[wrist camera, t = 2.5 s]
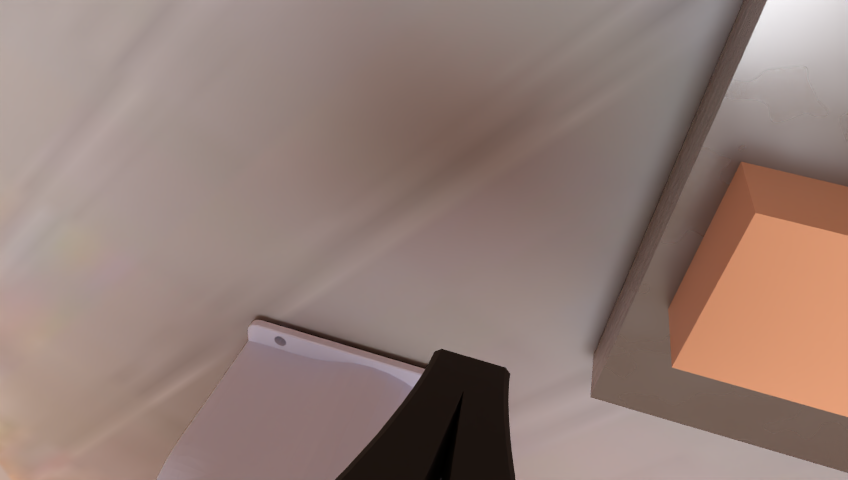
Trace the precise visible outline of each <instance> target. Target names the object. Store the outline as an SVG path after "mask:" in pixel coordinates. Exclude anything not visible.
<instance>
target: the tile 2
mask: <svg viewBox="0 0 848 480" xmlns="http://www.w3.org/2000/svg"><path fill="white" fill-rule="evenodd" d="M668 314H669V330H670V346H671V363H672V368H676V369H679V370H683V371H686V372H690V373H693V374H697V375H700V376H704V377H707V378H711V379H715V380H718V381H722V382H725V383H729V384H732V385H736V386H739V387H743V388H746V389H750V390H754V391H757V392H761V393H764V394H768V395H771V396H775V397H778V398H782V399H785V400H789V401H792V402H796V403H800V404H803V405H807V406H810V407H814V408H817V409H821V410H824V411H828V412H831V413H835V414H838V415H842V416H846V417H848V187H847V186H843V185H838V184H834V183H830V182H826V181H821V180H817V179H813V178H809V177H804V176H800V175H796V174H792V173H788V172H783V171H779V170H775V169H771V168H766V167H762V166H758V165H754V164H749V163H745V162H741V163H740V165H739V167H738V169H737V171H736V173H735V175H734V177H733V179H732V181H731V183H730V185H729V187H728V189H727V191H726V193H725V195H724V197H723V199H722V201H721V203H720V205H719V207H718V209H717V211H716V213H715V215H714V217H713V219H712V221H711V223H710V225H709V227H708V229H707V231H706V233H705V235H704V237H703V239H702V242H701V244H700V246H699V248H698V250H697V252H696V254H695V256H694V258H693V260H692V262H691V264H690V266H689V268H688V270H687V272H686V274H685V276H684V278H683V280H682V282H681V284H680V286H679V288H678V290H677V292H676V294H675V296H674V298H673V300H672V302H671V304H670V306H669V308H668Z"/></svg>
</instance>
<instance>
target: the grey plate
mask: <svg viewBox="0 0 848 480" xmlns="http://www.w3.org/2000/svg"><path fill="white" fill-rule="evenodd" d="M741 162H745V163H749V164H754V165H758V166H762V167H766V168H771V169H775V170H779V171H783V172H788V173H792V174H796V175H800V176H804V177H809V178H813V179H817V180H821V181H826V182H830V183H834V184H838V185H843V186H847V187H848V0H744V2H743V4H742V7H741V9H740V12H739V14H738V16H737V19H736V21H735V23H734V26H733V28H732V30H731V33H730V35H729V37H728V40H727V42H726V45H725V47H724V49H723V52H722V54H721V56H720V59H719V61H718V63H717V66H716V68H715V70H714V73H713V75H712V78H711V80H710V82H709V85H708V87H707V89H706V92H705V94H704V96H703V99H702V101H701V103H700V106H699V108H698V111H697V113H696V115H695V118H694V120H693V122H692V125H691V127H690V129H689V132H688V134H687V137H686V139H685V141H684V144H683V146H682V148H681V151H680V153H679V155H678V158H677V160H676V162H675V165H674V167H673V170H672V172H671V174H670V177H669V179H668V181H667V184H666V186H665V188H664V191H663V193H662V195H661V198H660V200H659V203H658V205H657V207H656V210H655V212H654V214H653V217H652V219H651V221H650V224H649V226H648V228H647V231H646V233H645V236H644V238H643V240H642V243H641V245H640V247H639V250H638V252H637V254H636V257H635V259H634V262H633V264H632V266H631V269H630V271H629V273H628V276H627V278H626V280H625V283H624V285H623V287H622V290H621V292H620V295H619V297H618V299H617V302H616V304H615V306H614V309H613V311H612V313H611V316H610V318H609V320H608V323H607V325H606V328H605V330H604V332H603V335H602V337H601V339H600V342H599V344H598V346H597V349H596V351H595V353H594V357H593V371H592V384H591V397H592V398H595V399H599V400H602V401H606V402H609V403H612V404H616V405H619V406H623V407H626V408H629V409H633V410H636V411H640V412H643V413H646V414H650V415H653V416H657V417H660V418H663V419H667V420H670V421H674V422H677V423H680V424H684V425H687V426H691V427H694V428H697V429H701V430H704V431H708V432H711V433H714V434H718V435H721V436H725V437H728V438H732V439H735V440H738V441H742V442H745V443H749V444H752V445H755V446H759V447H762V448H766V449H769V450H772V451H776V452H779V453H783V454H786V455H789V456H793V457H796V458H800V459H803V460H806V461H810V462H813V463H817V464H820V465H823V466H827V467H830V468H834V469H837V470H840V471H844V472H847V473H848V417H846V416H842V415H838V414H835V413H831V412H828V411H824V410H821V409H817V408H814V407H810V406H807V405H803V404H800V403H796V402H792V401H789V400H785V399H782V398H778V397H775V396H771V395H768V394H764V393H761V392H757V391H754V390H750V389H746V388H743V387H739V386H736V385H732V384H729V383H725V382H722V381H718V380H715V379H711V378H707V377H704V376H700V375H697V374H693V373H690V372H686V371H683V370H679V369H676V368H672V363H671V346H670V330H669V314H668V308H669V306H670V304H671V302H672V300H673V298H674V296H675V294H676V292H677V290H678V288H679V286H680V284H681V282H682V280H683V278H684V276H685V274H686V272H687V270H688V268H689V266H690V264H691V262H692V260H693V258H694V256H695V254H696V252H697V250H698V248H699V246H700V244H701V242H702V239H703V237H704V235H705V233H706V231H707V229H708V227H709V225H710V223H711V221H712V219H713V217H714V215H715V213H716V211H717V209H718V207H719V205H720V203H721V201H722V199H723V197H724V195H725V193H726V191H727V189H728V187H729V185H730V183H731V181H732V179H733V177H734V175H735V173H736V171H737V169H738V167H739V165H740V163H741Z"/></svg>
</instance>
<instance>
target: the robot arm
mask: <svg viewBox="0 0 848 480" xmlns="http://www.w3.org/2000/svg"><path fill="white" fill-rule="evenodd" d="M247 331H248V341H247V343H246V344H245V346H244V347H243V349H242V350H241V351H240V353H239V354H238V356H237V357H236V359H235V360H234V361H233V363H232V364H231V366H230V367H229V369H228V370H227V371H226V373H225V374H224V376H223V377H222V379H221V380H220V381H219V383H218V384H217V386H216V387H215V389H214V390H213V391H212V393H211V394H210V396H209V397H208V399H207V400H206V401H205V403H204V404H203V406H202V407H201V408H200V410H199V411H198V413H197V414H196V416H195V417H194V418H193V420H192V421H191V423H190V424H189V426H188V427H187V428H186V430H185V431H184V433H183V434H182V436H181V437H180V438H179V440H178V441H177V443H176V444H175V446H174V447H173V449H172V451H171V452H170V454H169V456H168V457H167V459H166V461H165V463H164V465H163V466H162V468H161V471H160V473H159V475H158V477H157V479H156V480H515V473H514V466H513V458H512V451H511V441H510V428H509V409H508V392H509V378H510V373H509V372H508V370H507V369H506V368H505V367H501V366H498V365H494V364H491V363H488V362H484V361H481V360H477V359H474V358H471V357H467V356H464V355H460V354H457V353H453V352H450V351H447V350H443V349H440V350H438V351H435V352H434V354H433V356H432V358H431V360H430V362H429V364H428V365H427V367H426V369H423V368H420V367H417V366H413V365H410V364H407V363H403V362H400V361H397V360H393V359H390V358H387V357H383V356H380V355H376V354H373V353H370V352H366V351H363V350H360V349H356V348H353V347H350V346H346V345H343V344H340V343H336V342H333V341H330V340H326V339H323V338H319V337H316V336H313V335H309V334H306V333H303V332H299V331H296V330H293V329H289V328H286V327H283V326H279V325H276V324H273V323H269V322H266V321H262V320H254V321H253V322H252V323H251V324H250V325H249V327H248V330H247ZM281 337H282V338H281ZM283 338H284V339H283Z"/></svg>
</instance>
